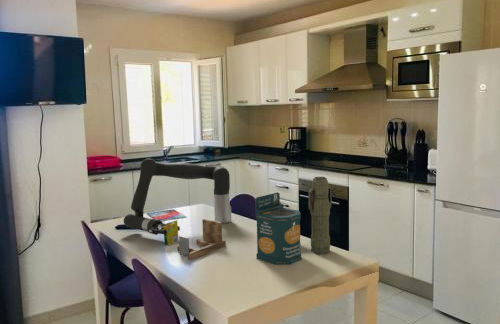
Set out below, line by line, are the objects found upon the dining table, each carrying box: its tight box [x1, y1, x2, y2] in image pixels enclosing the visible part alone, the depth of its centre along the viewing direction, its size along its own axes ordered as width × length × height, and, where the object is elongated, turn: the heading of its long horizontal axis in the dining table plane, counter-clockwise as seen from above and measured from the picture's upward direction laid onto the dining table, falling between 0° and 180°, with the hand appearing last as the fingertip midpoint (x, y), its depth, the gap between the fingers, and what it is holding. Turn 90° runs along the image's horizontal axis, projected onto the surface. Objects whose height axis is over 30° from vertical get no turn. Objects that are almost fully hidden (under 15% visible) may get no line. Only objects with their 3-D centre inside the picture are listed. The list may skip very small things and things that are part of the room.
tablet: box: [146, 209, 187, 222], centre depth 277 cm, size 19×25×1 cm
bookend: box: [178, 235, 190, 258], centre depth 199 cm, size 6×4×9 cm, turn 52°
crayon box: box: [163, 219, 179, 247], centre depth 217 cm, size 7×3×12 cm, turn 141°
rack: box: [176, 218, 227, 261], centre depth 206 cm, size 14×24×12 cm, turn 142°
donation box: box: [254, 192, 302, 266], centre depth 191 cm, size 16×16×28 cm
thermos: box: [307, 176, 333, 255], centre depth 198 cm, size 9×12×35 cm
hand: (172, 230), depth 216 cm, fingers open, 8 cm apart
